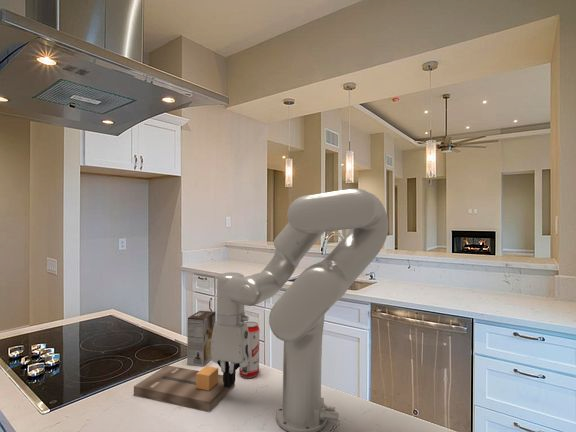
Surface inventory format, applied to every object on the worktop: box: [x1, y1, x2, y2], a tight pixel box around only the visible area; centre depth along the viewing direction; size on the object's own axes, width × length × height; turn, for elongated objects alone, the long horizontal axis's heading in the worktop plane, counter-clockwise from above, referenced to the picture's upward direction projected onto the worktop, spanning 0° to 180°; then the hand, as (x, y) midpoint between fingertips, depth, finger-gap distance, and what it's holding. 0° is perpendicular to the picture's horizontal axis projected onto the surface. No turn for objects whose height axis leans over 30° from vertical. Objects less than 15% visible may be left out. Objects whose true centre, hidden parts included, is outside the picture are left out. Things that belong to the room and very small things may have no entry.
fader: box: [196, 365, 219, 391], centre depth 92 cm, size 4×5×4 cm
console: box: [133, 365, 236, 413], centre depth 94 cm, size 24×14×3 cm, turn 72°
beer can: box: [238, 321, 261, 379], centre depth 105 cm, size 6×6×16 cm
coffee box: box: [186, 310, 216, 367], centre depth 115 cm, size 9×6×16 cm
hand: (229, 385), depth 90 cm, fingers closed
